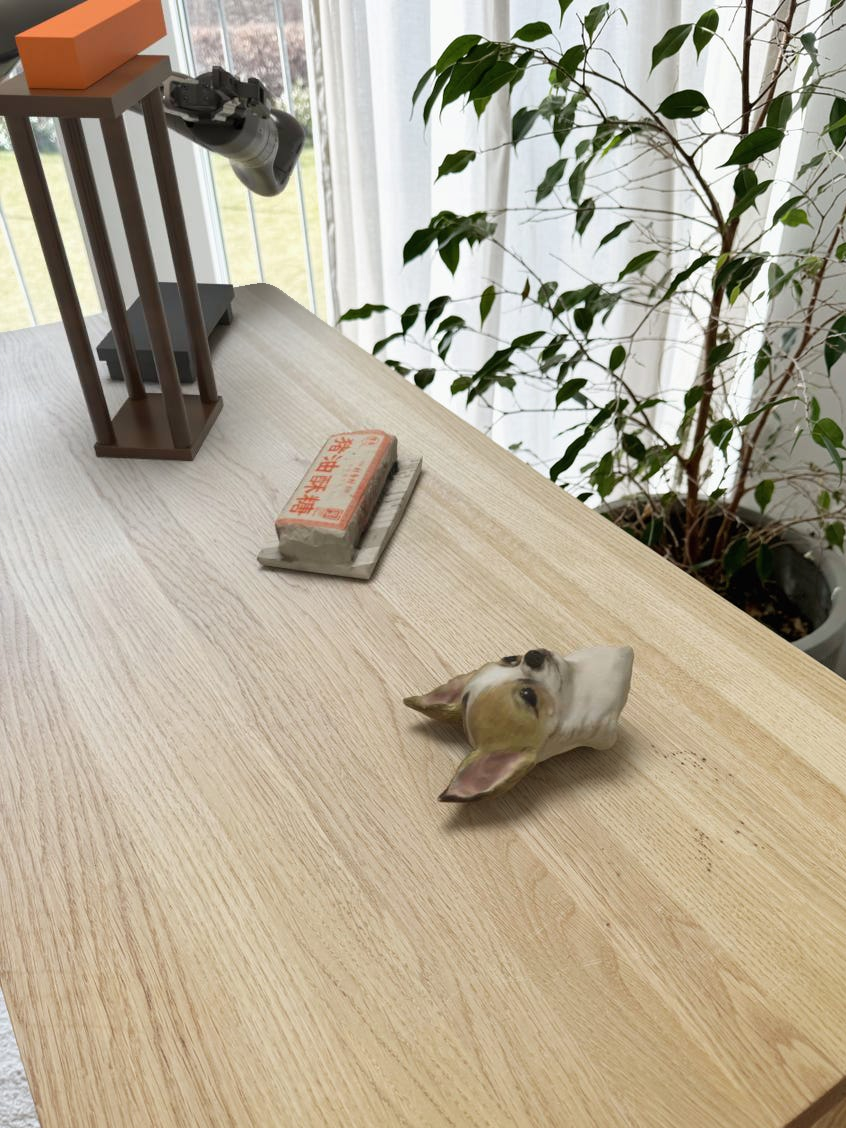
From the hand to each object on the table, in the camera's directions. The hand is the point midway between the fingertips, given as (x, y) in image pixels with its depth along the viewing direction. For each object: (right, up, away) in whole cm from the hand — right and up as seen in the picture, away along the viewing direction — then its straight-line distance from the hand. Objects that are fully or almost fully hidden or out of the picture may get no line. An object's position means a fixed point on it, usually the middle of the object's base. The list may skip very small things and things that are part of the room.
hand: (173, 75), depth 99 cm
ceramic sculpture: (+33, -63, -30) cm, 77 cm away
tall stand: (-2, -34, +3) cm, 34 cm away
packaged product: (+18, -45, -9) cm, 49 cm away
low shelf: (-5, -22, +17) cm, 28 cm away
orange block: (-1, -7, -15) cm, 16 cm away
